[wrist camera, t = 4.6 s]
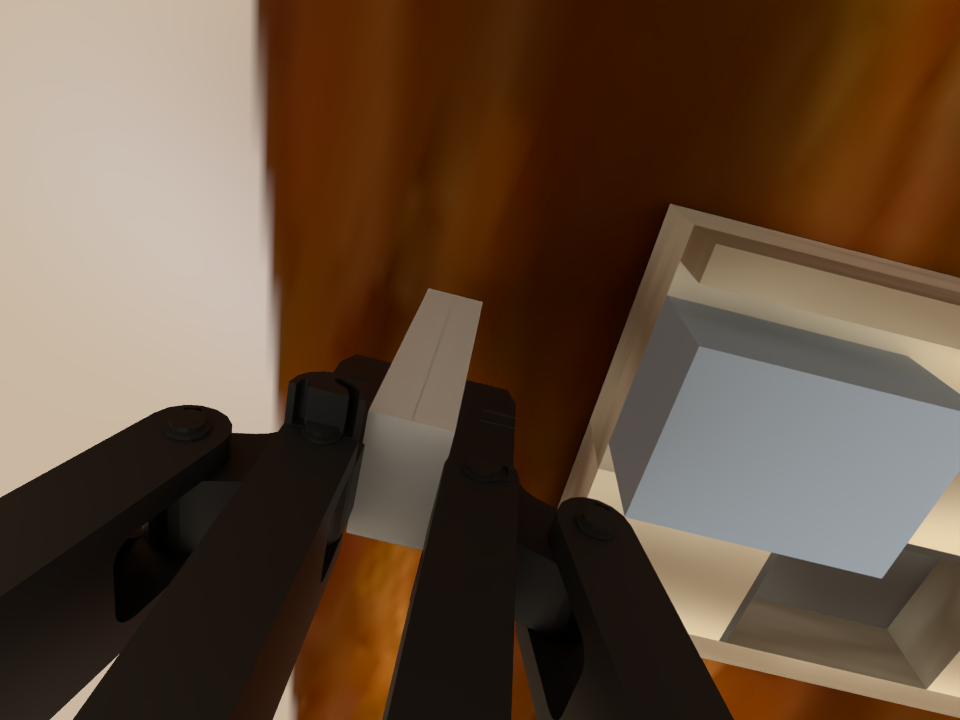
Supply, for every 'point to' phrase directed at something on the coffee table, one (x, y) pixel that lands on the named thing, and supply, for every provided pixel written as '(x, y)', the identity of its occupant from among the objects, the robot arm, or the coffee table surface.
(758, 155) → the coffee table surface
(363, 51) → the coffee table surface
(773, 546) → the block
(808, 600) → the box
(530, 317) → the coffee table surface
